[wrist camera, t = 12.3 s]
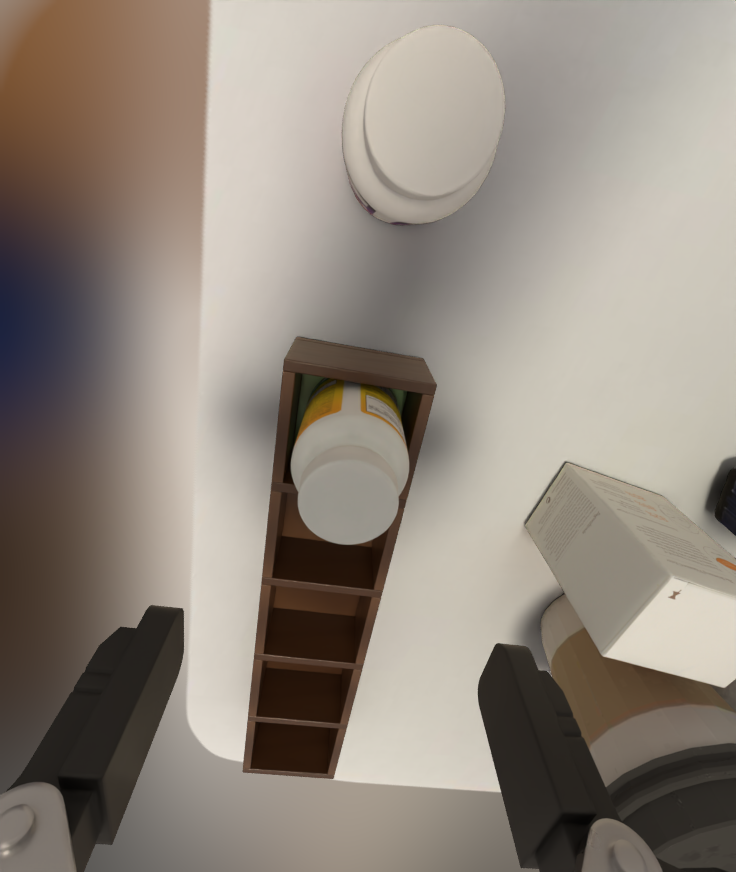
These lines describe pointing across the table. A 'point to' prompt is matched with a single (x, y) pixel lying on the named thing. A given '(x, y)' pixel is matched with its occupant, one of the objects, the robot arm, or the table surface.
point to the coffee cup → (652, 745)
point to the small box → (640, 576)
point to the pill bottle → (423, 125)
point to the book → (728, 503)
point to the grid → (320, 577)
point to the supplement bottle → (350, 461)
